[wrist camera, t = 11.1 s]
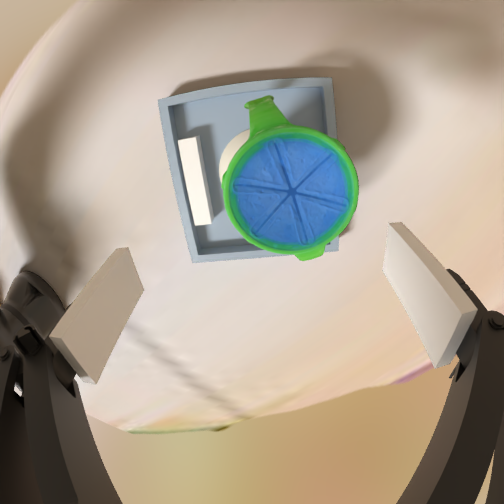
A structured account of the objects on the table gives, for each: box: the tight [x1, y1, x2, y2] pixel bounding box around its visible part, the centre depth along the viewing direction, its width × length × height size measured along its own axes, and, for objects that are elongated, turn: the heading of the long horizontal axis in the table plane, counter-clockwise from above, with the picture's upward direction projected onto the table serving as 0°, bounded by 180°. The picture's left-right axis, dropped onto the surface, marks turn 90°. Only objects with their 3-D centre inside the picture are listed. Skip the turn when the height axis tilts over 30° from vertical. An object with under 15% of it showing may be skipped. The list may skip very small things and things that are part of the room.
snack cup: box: [221, 95, 359, 261], centre depth 24 cm, size 16×10×10 cm
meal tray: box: [158, 77, 339, 263], centre depth 29 cm, size 18×20×3 cm
